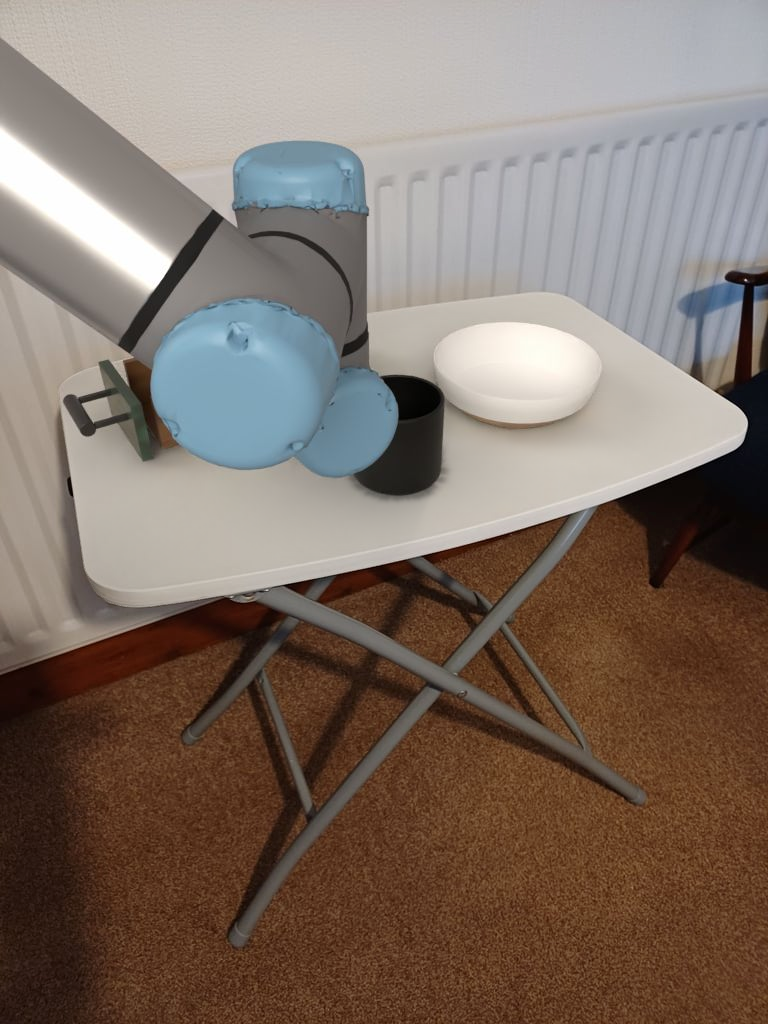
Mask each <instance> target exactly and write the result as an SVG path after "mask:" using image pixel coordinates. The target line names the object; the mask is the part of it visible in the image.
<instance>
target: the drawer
mask: <svg viewBox="0 0 768 1024" xmlns="http://www.w3.org/2000/svg"><path fill="white" fill-rule="evenodd" d="M97 363H98V368H99V371H100V376H101V379H102V383H103V386H104V387H103V388H104V389H103V390H100V391H95V392H92V393H88V394H85V395H84V394H83V395H80V396H77V395H75V394H74V393H68V394H66V395H65V396H64V397H63V398H62V402H63V405H64V407H65V409H66V411H67V412H68V413H69V415H70V417H71V419H72V421H73V423H74V424H75V426H76V427H77V429H78V431H79V433H80V434H81V435H82V436H83V437H86V438H89V437H92V436H94V435H95V434H96V432H97V430H98V429H102V428H105V427H109V426H112V425H116V424H117V425H118V426H119V428H120V429H121V431H122V433H123V434H124V435H125V437H126V438H127V440H128V442H129V443H130V444H131V446H132V448H133V449H134V450H135V452H136V453H137V455H138V457H139V458H140V459H141V461H142V462H148V461H151V460H154V453H153V448H152V444H151V440H150V436H149V435H150V434H149V432H150V433H151V435H152V436H153V438H154V439H155V440H156V442H157V444H159V446H160V447H161V449H162V450H165V449H168V448H173V447H175V446H178V445H180V444H179V443H178V442H177V441H176V440H175V439H173V437H172V433H171V432H170V431H169V429H168V428H167V427H166V425H165V424H164V422H163V421H162V419H161V418H160V417H159V416H158V414H157V412H156V410H155V407H154V404H153V401H152V396H151V374H152V370H151V369H150V368H148V367H147V366H145V365H144V364H142V363H141V362H140V361H138V360H137V359H136V358H134V357H130V358H127V359H123V360H122V364H123V369H124V373H125V377H126V381H127V382H126V381H125V380H124V378H123V377H122V375H121V374H120V372H119V371H118V370H117V368H116V367H115V366H114V365H113V363H112V362H111V360H110V359H109V358H108V359H104V360H100V361H98V362H97ZM105 398H107V403H108V406H109V410H110V411H109V412H110V414H111V416H110V417H107V418H103V419H100V420H96V421H92V419H91V417H90V415H89V414H88V411H87V410H86V408H85V407H84V405H83V404H86V403H89V402H93V401H97V400H101V399H105Z"/></svg>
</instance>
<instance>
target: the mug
mask: <svg viewBox="0 0 768 1024" xmlns="http://www.w3.org/2000/svg"><path fill="white" fill-rule="evenodd" d="M379 377H381V378H382V379H383V381H384V383H385V384H386V385H387V386H388V387H389V389H390V390H391V391H392V393H393V395H394V397H395V400H396V403H397V405H398V424H397V428H396V431H395V434H394V436H393V439H392V441H391V443H390V444H389V446H388V447H387V449H386V450H385V452H384V453H383V454H382V455H381V456H380V457H379V458H378V459H377V460H376V461H375V462H374V463H373V464H372V465H370V466H368V467H367V468H365V469H364V470H362V471H360V472H357V473H354V474H353V475H354V476H355V478H356V480H357V481H358V482H359V483H360V485H362V486H363V487H364V488H366V489H368V490H370V491H372V492H375V493H379V494H383V495H387V496H406V495H412V494H417V493H420V492H422V491H425V490H426V489H428V488H430V487H431V486H432V485H434V484H435V483H436V481H437V480H438V478H439V477H440V475H441V472H442V458H443V441H444V424H445V409H446V408H445V407H446V406H445V404H446V397H445V396H444V394H443V392H442V390H441V389H440V388H439V386H438V384H435V383H434V382H432V381H430V380H428V379H425V378H422V377H419V376H416V375H410V374H385V375H379Z"/></svg>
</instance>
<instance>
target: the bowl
mask: <svg viewBox="0 0 768 1024" xmlns="http://www.w3.org/2000/svg"><path fill="white" fill-rule="evenodd" d="M432 360H433V362H432V363H433V374H434V377H435V380H436V384H437V386H438V387H439V388H440V389H441V390H442V392H443V394H444V397H445V400H447V401H448V402H449V403H451V404H452V405H453V406H454V407H456V408H457V409H458V410H459V411H461V412H462V413H464V414H465V415H467V416H469V417H471V418H473V419H475V420H477V421H480V422H483V423H487V424H489V425H492V426H495V427H501V428H508V429H529V428H536V427H542V426H548V425H551V424H554V423H557V422H559V421H562V420H563V419H566V418H568V417H570V416H571V415H574V414H575V413H577V412H579V410H581V409H583V408H584V407H585V406H586V404H588V402H589V400H590V399H591V398H592V396H593V395H594V393H595V392H596V390H597V387H598V384H599V381H600V379H601V377H602V372H603V362H602V359H601V357H600V355H599V353H598V352H597V351H596V350H595V349H594V348H593V346H592V345H590V344H589V343H587V341H585V340H583V339H582V338H580V337H578V336H576V335H574V334H572V333H570V332H567V331H564V330H561V329H558V328H555V327H551V326H547V325H544V324H537V323H532V322H523V321H522V322H520V321H491V322H483V323H477V324H472V325H468V326H466V327H462V328H459V329H457V330H455V331H453V332H451V333H448V334H447V335H446V336H445V337H443V338H442V339H440V341H438V343H437V345H436V346H435V347H434V350H433V353H432Z"/></svg>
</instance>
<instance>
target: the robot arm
mask: <svg viewBox="0 0 768 1024" xmlns="http://www.w3.org/2000/svg"><path fill="white" fill-rule="evenodd" d="M232 166H233V167H232V183H233V185H232V186H233V187H232V189H233V201H232V203H231V210H232V211H233V212H234V216H235V221H236V225H234V224H233V223H232V222H231V221H229V220H228V219H227V218H226V217H224V216H222V214H220V213H219V212H217V211H216V209H214V208H213V207H212V206H211V205H209V203H207V202H206V201H205V200H203V199H202V198H201V197H200V196H199V195H197V194H196V193H195V192H194V191H192V190H191V189H190V188H189V187H187V186H186V185H185V184H184V183H182V182H181V181H180V180H178V178H176V177H175V176H174V175H172V174H171V173H170V172H169V171H167V170H166V169H165V168H164V167H162V166H161V165H160V164H159V163H158V162H157V161H155V160H154V159H152V158H151V157H150V156H148V155H147V154H146V153H145V152H144V151H143V150H142V149H140V148H139V147H137V146H136V145H135V144H134V143H132V142H131V141H130V139H128V138H126V137H125V136H123V134H121V133H120V132H119V131H118V130H116V129H115V128H114V127H113V126H112V125H110V124H109V123H108V122H106V121H105V120H104V119H102V118H101V116H99V115H98V114H97V113H95V112H94V111H92V110H91V109H90V108H89V107H88V106H87V105H85V104H84V103H83V102H81V101H80V100H79V99H78V98H77V97H75V96H74V95H73V94H72V93H70V91H68V90H67V89H65V88H64V87H63V86H62V85H61V84H60V83H58V82H57V81H55V80H54V79H53V78H51V77H50V76H49V75H48V74H47V73H46V72H44V71H43V70H42V69H40V68H39V67H38V66H36V65H35V64H34V63H33V62H32V61H31V60H29V59H28V58H27V57H25V56H24V55H23V54H22V53H20V52H19V51H18V50H16V48H14V47H13V46H12V45H10V44H9V43H8V42H6V40H5V39H4V38H2V37H0V266H1V267H3V268H4V269H6V270H7V271H9V272H10V273H12V274H13V275H15V276H16V277H18V278H19V279H20V280H21V281H23V282H25V283H26V284H28V285H29V286H31V287H32V288H33V289H35V290H36V291H37V292H39V293H40V294H42V295H44V296H45V297H46V298H48V299H49V300H51V301H52V302H53V303H55V304H56V305H58V306H59V307H61V308H63V309H64V310H65V311H66V312H68V313H70V314H71V315H72V316H74V317H76V319H78V320H80V321H82V322H83V323H84V324H85V325H87V326H89V327H90V328H91V329H93V330H94V331H95V332H97V333H99V334H100V335H102V337H104V338H106V339H107V340H108V341H110V342H112V344H115V345H116V346H117V347H119V348H120V349H122V350H123V351H124V352H126V353H128V354H129V355H130V356H132V358H136V359H137V360H138V361H140V362H141V363H142V364H144V365H145V366H147V367H148V368H150V369H151V370H152V374H151V396H152V401H153V404H154V407H155V410H156V412H157V414H158V416H159V417H160V418H161V419H162V421H163V422H164V424H165V425H166V427H167V428H168V429H169V431H170V432H171V433H172V437H173V439H175V440H176V441H177V442H178V443H179V444H178V445H179V446H180V447H182V448H183V449H184V450H186V451H187V452H188V453H190V454H191V455H193V456H194V457H196V458H198V459H200V460H202V461H204V462H206V463H209V464H211V465H215V466H218V467H223V468H226V469H232V470H238V471H254V470H263V469H267V468H272V467H274V466H277V465H280V464H282V463H285V462H287V461H289V460H290V459H292V458H295V460H297V461H298V462H299V463H300V464H301V465H302V466H304V467H305V468H306V469H307V470H309V472H310V473H311V472H312V473H314V475H315V474H316V475H317V476H319V477H325V478H331V479H340V478H345V477H349V476H352V475H355V474H354V473H357V472H360V471H362V470H364V469H365V468H367V467H368V466H370V465H372V464H373V463H374V462H375V461H376V460H377V459H378V458H379V457H380V456H381V455H382V454H383V453H384V452H385V450H386V449H387V447H388V446H389V444H390V443H391V441H392V439H393V436H394V434H395V431H396V428H397V424H398V405H397V403H396V400H395V397H394V395H393V393H392V391H391V390H390V389H389V387H388V386H387V385H386V384H385V383H384V381H383V379H382V378H381V377H379V376H380V374H379V372H377V371H375V370H373V369H372V368H371V366H370V332H369V322H368V217H369V216H370V208H369V206H368V204H367V195H366V177H365V168H364V164H363V162H362V160H361V158H360V156H359V155H357V154H356V153H355V152H354V151H353V150H351V149H350V148H348V147H346V146H343V145H340V144H336V143H334V142H333V143H332V142H326V141H319V140H318V141H317V140H284V141H275V142H269V143H268V142H267V143H264V144H260V145H256V146H253V147H251V148H249V149H247V150H245V151H244V152H242V153H241V154H240V155H239V156H237V158H236V159H235V161H234V163H233V165H232Z"/></svg>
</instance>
